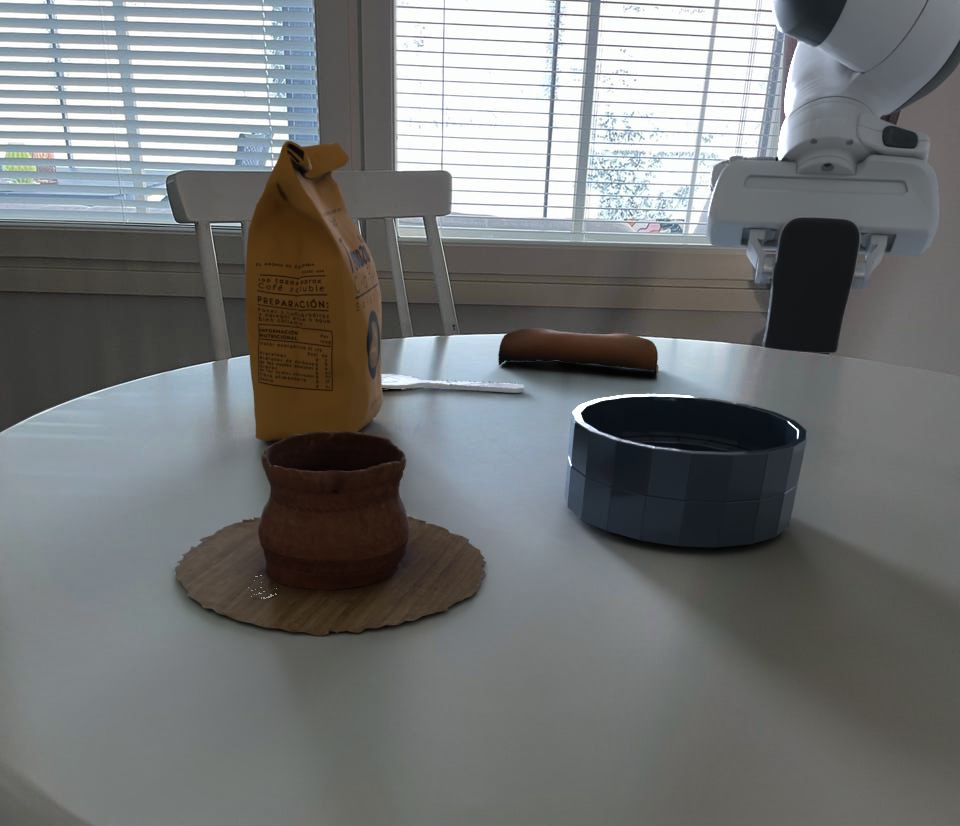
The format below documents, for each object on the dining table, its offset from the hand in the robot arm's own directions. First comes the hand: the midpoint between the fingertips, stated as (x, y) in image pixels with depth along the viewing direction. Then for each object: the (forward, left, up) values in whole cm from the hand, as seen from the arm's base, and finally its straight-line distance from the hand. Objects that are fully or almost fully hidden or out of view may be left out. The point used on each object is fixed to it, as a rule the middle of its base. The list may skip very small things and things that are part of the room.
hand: (811, 282), depth 85 cm
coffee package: (+43, +10, -13) cm, 46 cm away
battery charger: (0, -1, -6) cm, 6 cm away
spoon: (+34, -8, -12) cm, 37 cm away
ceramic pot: (+38, +39, -13) cm, 56 cm away
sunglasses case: (+18, -21, -13) cm, 30 cm away
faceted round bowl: (+16, +28, -12) cm, 35 cm away
